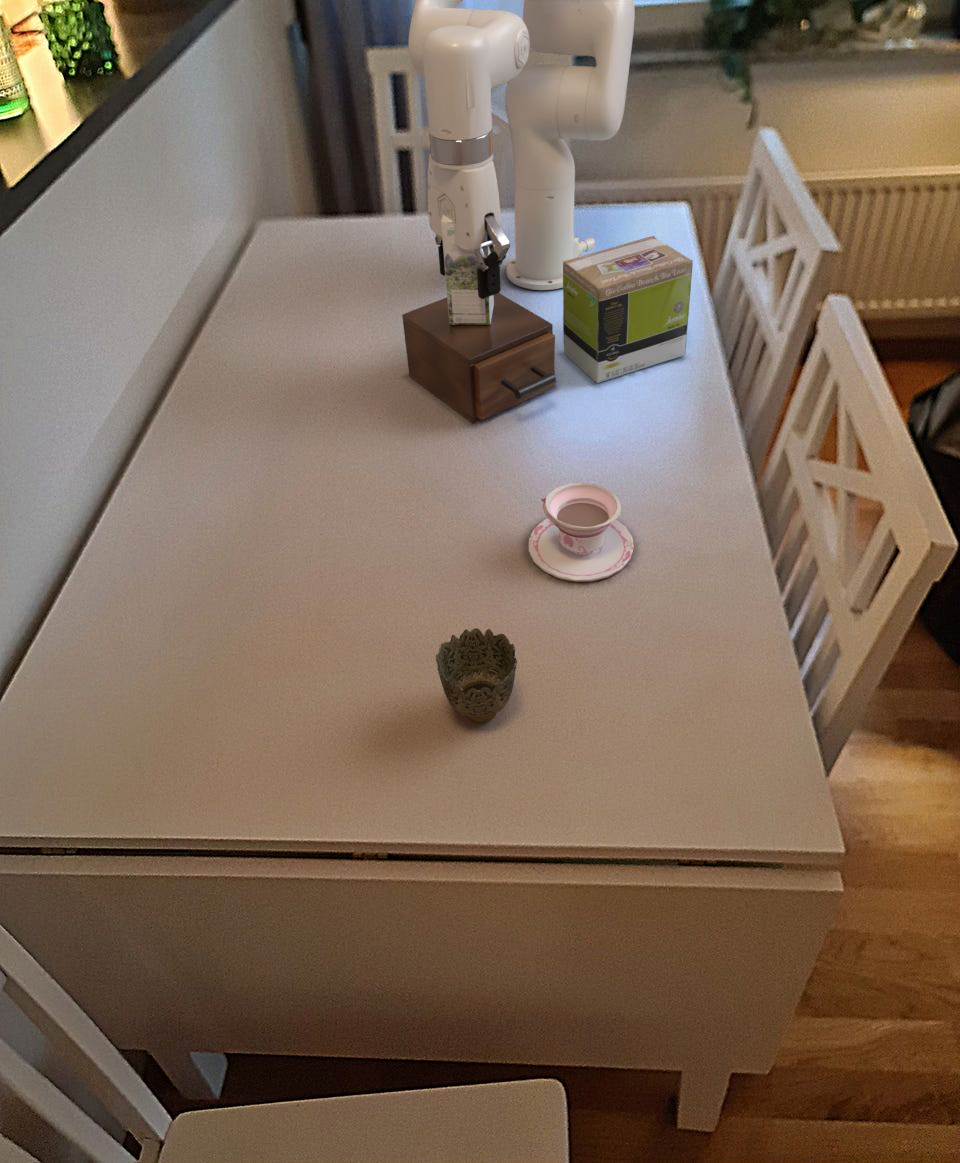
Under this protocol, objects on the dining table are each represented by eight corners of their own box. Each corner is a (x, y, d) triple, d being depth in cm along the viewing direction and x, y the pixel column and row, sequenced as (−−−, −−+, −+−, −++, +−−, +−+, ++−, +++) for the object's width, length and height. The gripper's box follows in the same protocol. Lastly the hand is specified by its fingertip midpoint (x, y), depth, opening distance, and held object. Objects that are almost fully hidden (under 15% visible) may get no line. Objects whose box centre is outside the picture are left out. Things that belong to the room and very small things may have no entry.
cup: (440, 685, 95) (433, 630, 89) (514, 678, 95) (511, 623, 89) (444, 746, 89) (438, 691, 84) (522, 738, 89) (521, 683, 84)
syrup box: (494, 305, 131) (490, 200, 121) (490, 327, 126) (485, 219, 116) (453, 305, 131) (445, 201, 121) (448, 327, 127) (439, 220, 117)
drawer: (575, 399, 129) (576, 348, 123) (501, 434, 124) (498, 382, 118) (491, 346, 140) (489, 296, 135) (421, 376, 135) (415, 325, 130)
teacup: (649, 530, 110) (653, 488, 106) (609, 596, 102) (611, 553, 98) (555, 503, 114) (555, 462, 110) (510, 564, 107) (508, 522, 103)
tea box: (647, 328, 143) (655, 232, 133) (686, 357, 137) (697, 259, 127) (560, 354, 139) (561, 257, 129) (595, 386, 133) (599, 287, 122)
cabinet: (552, 387, 133) (552, 324, 126) (473, 424, 127) (468, 359, 121) (485, 344, 142) (482, 283, 136) (409, 376, 137) (401, 314, 130)
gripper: (396, 135, 117) (410, 270, 129) (479, 174, 107) (486, 316, 119) (446, 120, 120) (455, 253, 132) (531, 157, 110) (533, 297, 122)
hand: (469, 282), depth 125 cm, fingers closed on syrup box, 8 cm apart
